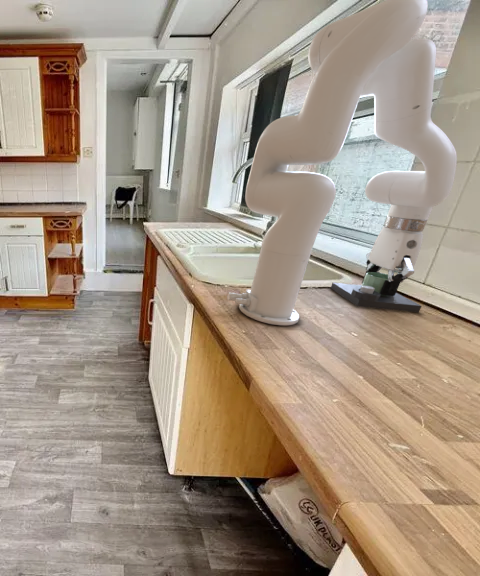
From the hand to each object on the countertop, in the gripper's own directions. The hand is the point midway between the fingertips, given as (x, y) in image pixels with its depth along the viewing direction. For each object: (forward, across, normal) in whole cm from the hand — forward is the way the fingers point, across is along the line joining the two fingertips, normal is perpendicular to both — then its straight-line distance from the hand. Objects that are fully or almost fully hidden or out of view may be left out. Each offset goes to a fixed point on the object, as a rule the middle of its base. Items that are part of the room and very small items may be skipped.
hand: (377, 289), depth 84 cm
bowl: (+1, 0, 0) cm, 1 cm away
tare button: (-1, -6, +6) cm, 8 cm away
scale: (+3, -2, +2) cm, 3 cm away
